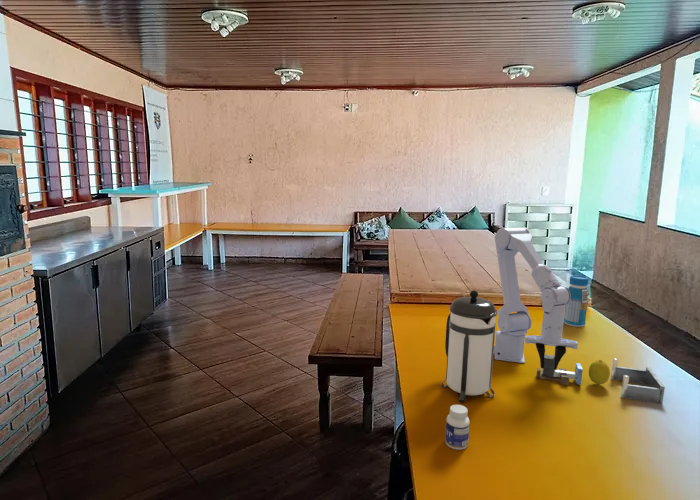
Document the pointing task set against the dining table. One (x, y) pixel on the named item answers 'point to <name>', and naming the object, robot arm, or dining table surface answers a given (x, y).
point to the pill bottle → (457, 427)
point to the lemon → (599, 372)
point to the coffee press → (470, 345)
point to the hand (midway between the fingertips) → (548, 367)
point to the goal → (648, 377)
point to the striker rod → (550, 372)
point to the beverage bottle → (577, 302)
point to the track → (562, 379)
